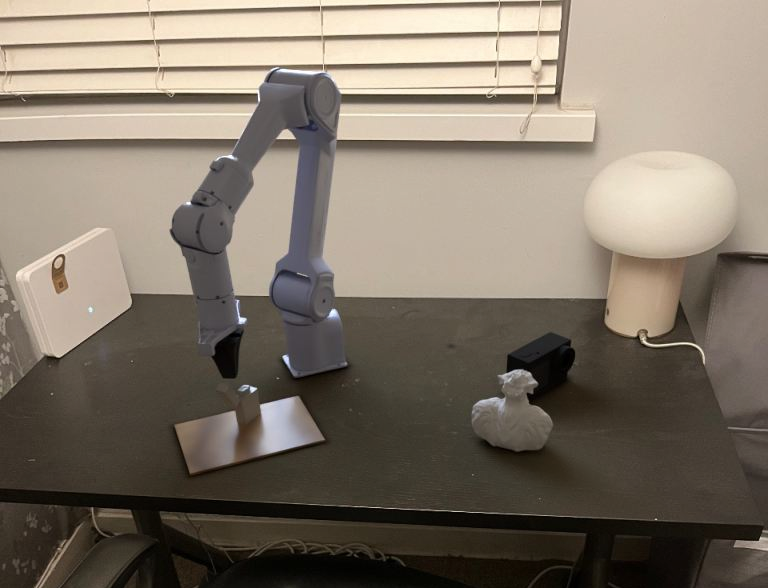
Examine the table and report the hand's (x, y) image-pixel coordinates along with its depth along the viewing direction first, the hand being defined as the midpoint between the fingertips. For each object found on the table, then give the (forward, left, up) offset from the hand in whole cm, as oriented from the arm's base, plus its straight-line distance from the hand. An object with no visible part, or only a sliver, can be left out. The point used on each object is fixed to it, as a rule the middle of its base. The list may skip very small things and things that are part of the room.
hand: (230, 376), depth 118 cm
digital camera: (-46, +15, -6) cm, 49 cm away
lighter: (0, +5, -6) cm, 7 cm away
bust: (-35, +26, -6) cm, 44 cm away
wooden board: (0, +8, -6) cm, 10 cm away
